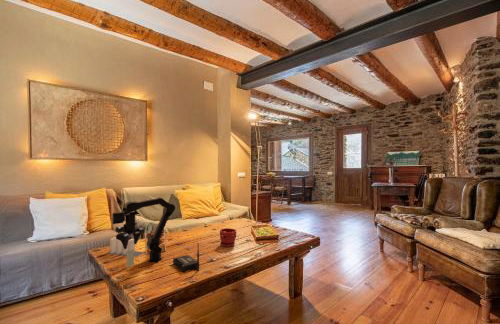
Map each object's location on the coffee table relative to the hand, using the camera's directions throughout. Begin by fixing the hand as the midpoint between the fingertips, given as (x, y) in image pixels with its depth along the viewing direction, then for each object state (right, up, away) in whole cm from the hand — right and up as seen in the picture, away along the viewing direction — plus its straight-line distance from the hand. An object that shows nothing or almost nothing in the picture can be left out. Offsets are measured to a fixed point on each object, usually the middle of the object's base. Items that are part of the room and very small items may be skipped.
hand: (130, 246), depth 158 cm
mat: (-14, -12, +21) cm, 28 cm away
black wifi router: (+36, -13, -1) cm, 38 cm away
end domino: (-24, -12, +23) cm, 35 cm away
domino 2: (-14, -12, +21) cm, 28 cm away
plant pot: (+58, -13, +41) cm, 73 cm away
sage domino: (0, -12, 0) cm, 12 cm away
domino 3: (-9, -12, +20) cm, 25 cm away
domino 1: (-19, -12, +22) cm, 31 cm away
